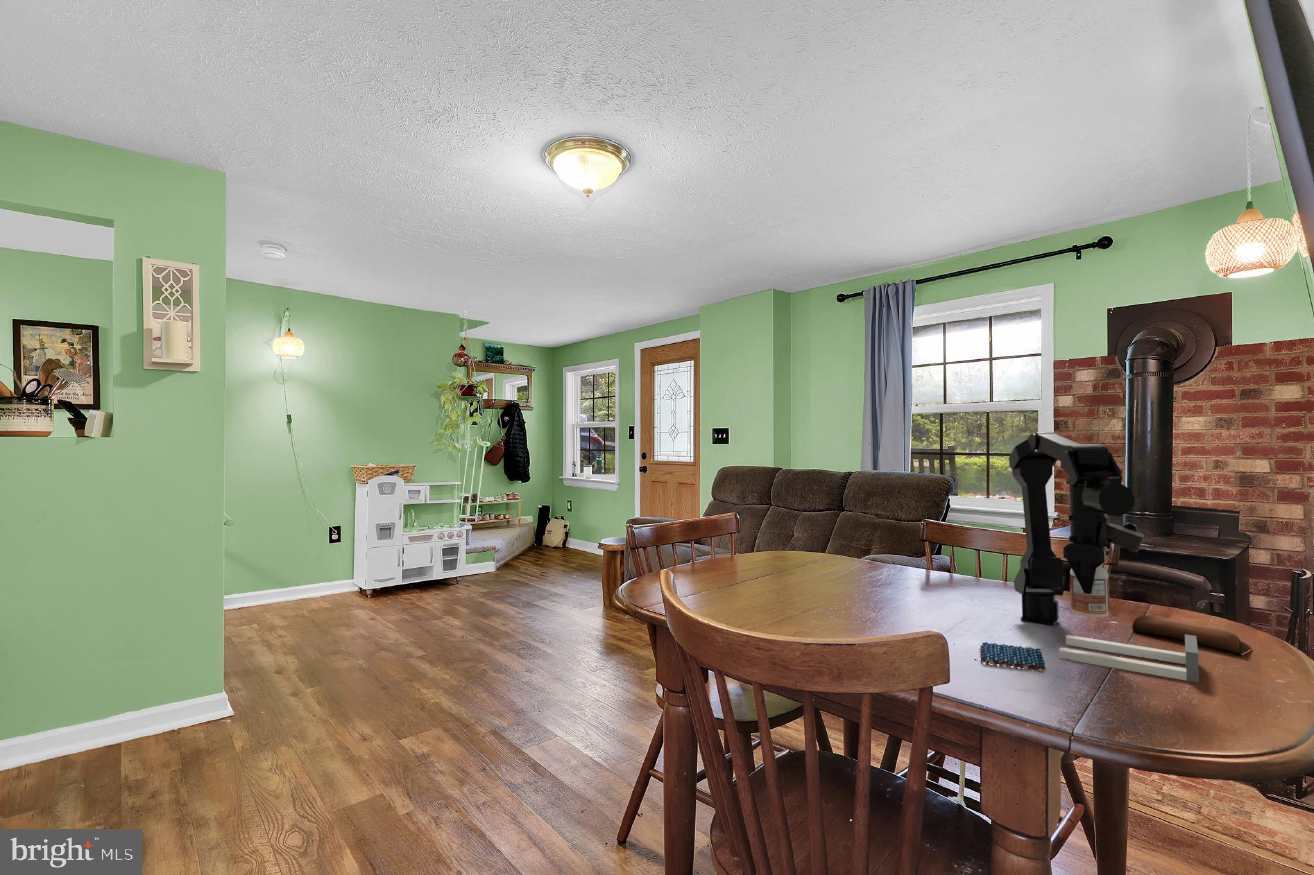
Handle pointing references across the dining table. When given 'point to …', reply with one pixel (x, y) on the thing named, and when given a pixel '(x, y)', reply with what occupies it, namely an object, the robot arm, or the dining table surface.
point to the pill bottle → (1091, 595)
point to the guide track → (1135, 665)
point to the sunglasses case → (1190, 632)
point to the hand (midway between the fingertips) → (1089, 590)
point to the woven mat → (1012, 656)
